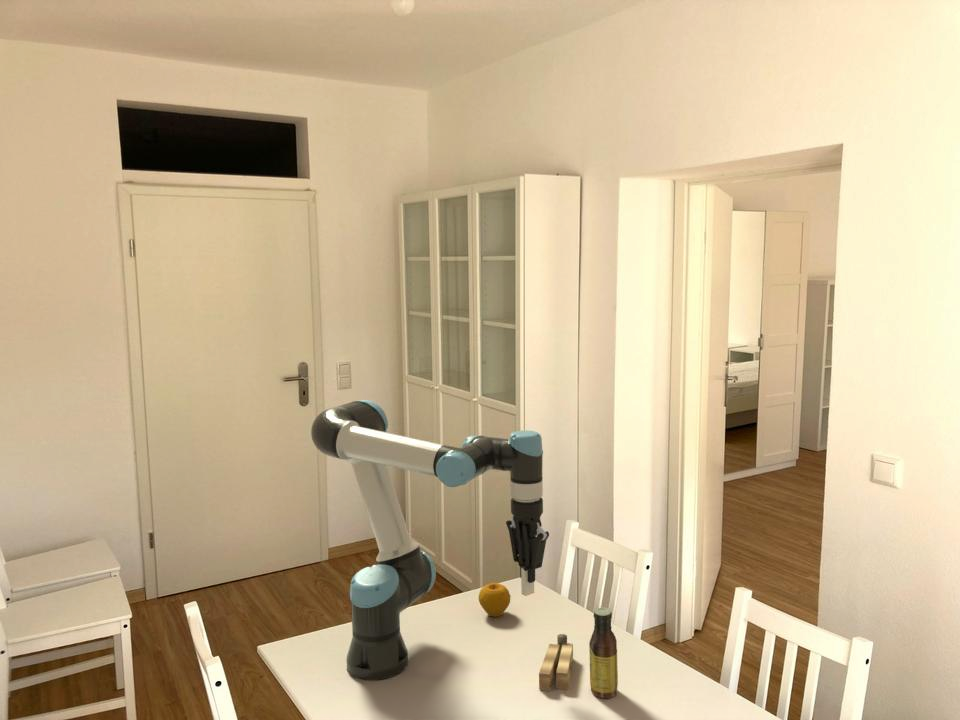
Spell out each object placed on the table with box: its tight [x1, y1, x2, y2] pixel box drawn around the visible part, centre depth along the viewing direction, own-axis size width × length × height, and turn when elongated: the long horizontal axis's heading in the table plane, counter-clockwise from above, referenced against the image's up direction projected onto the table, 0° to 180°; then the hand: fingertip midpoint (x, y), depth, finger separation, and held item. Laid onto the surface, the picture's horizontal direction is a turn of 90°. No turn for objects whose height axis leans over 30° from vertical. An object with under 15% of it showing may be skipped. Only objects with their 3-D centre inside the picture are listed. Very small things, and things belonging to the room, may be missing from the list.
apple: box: [477, 582, 511, 618], centre depth 217 cm, size 9×9×9 cm
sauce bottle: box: [588, 606, 619, 699], centre depth 176 cm, size 6×6×20 cm
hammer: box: [555, 633, 574, 691], centre depth 187 cm, size 16×4×5 cm, turn 168°
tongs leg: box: [538, 643, 560, 692], centre depth 185 cm, size 14×2×4 cm, turn 165°
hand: (527, 593), depth 185 cm, fingers closed
